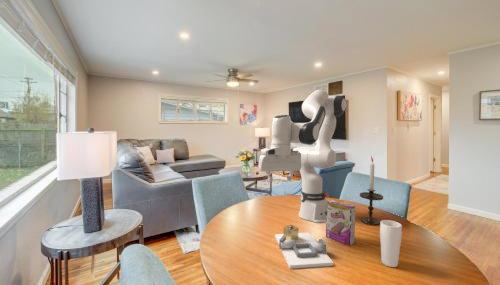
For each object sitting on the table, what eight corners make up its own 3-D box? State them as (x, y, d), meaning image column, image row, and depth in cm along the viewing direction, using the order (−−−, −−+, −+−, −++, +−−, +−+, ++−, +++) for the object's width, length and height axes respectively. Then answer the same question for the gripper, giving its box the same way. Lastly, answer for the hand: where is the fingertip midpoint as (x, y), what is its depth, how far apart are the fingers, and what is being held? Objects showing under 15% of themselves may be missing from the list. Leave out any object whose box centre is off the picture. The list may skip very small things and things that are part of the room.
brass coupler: (290, 235, 103) (290, 223, 103) (298, 239, 100) (298, 226, 100) (283, 238, 101) (283, 225, 100) (291, 242, 97) (291, 229, 97)
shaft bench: (308, 235, 106) (308, 224, 106) (333, 265, 83) (333, 252, 82) (272, 237, 105) (272, 226, 104) (287, 268, 81) (287, 255, 80)
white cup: (374, 258, 87) (376, 220, 86) (391, 257, 88) (393, 219, 87) (386, 269, 80) (388, 227, 80) (405, 268, 81) (406, 227, 80)
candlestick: (354, 219, 125) (356, 155, 123) (370, 217, 129) (372, 154, 127) (370, 227, 115) (372, 157, 113) (387, 224, 118) (389, 156, 116)
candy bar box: (325, 237, 104) (326, 201, 103) (330, 234, 108) (331, 199, 107) (350, 246, 96) (351, 208, 95) (355, 242, 100) (356, 205, 99)
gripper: (297, 149, 111) (296, 178, 112) (257, 150, 105) (256, 180, 105) (304, 151, 105) (303, 181, 105) (262, 151, 99) (261, 183, 99)
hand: (279, 180), depth 105 cm, fingers open, 8 cm apart
